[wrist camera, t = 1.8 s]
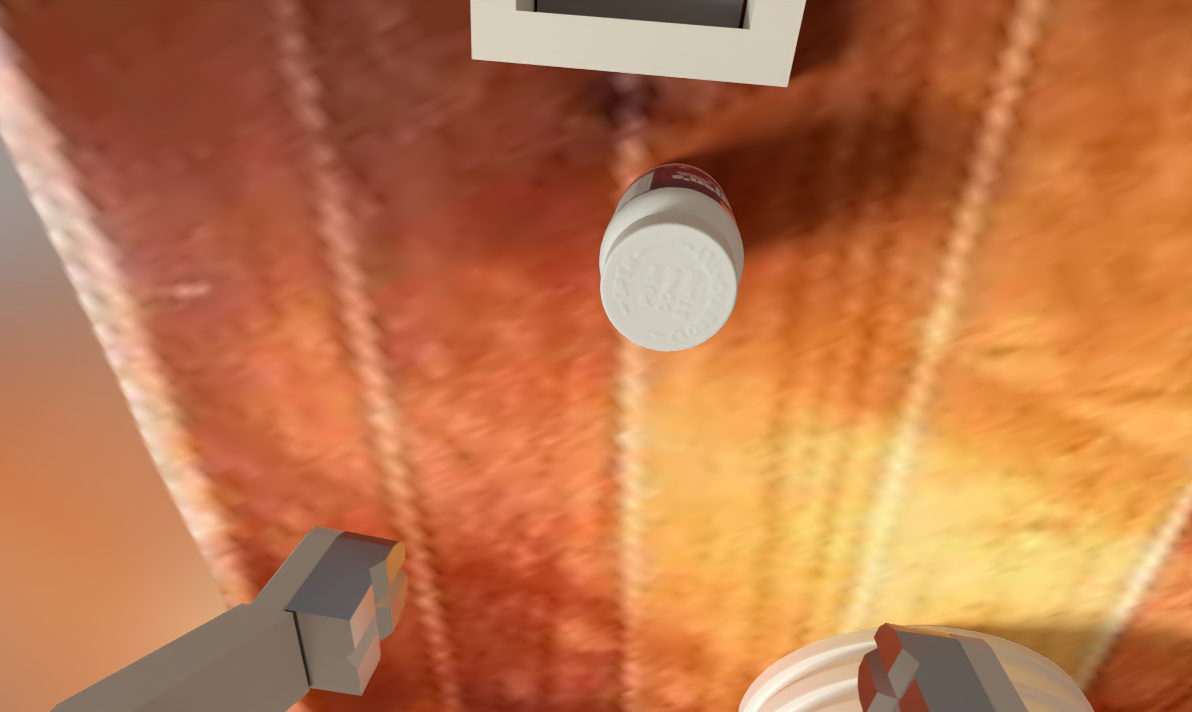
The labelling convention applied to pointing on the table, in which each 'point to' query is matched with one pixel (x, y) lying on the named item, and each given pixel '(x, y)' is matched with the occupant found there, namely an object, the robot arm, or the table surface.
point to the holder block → (644, 36)
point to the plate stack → (830, 666)
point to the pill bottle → (671, 259)
